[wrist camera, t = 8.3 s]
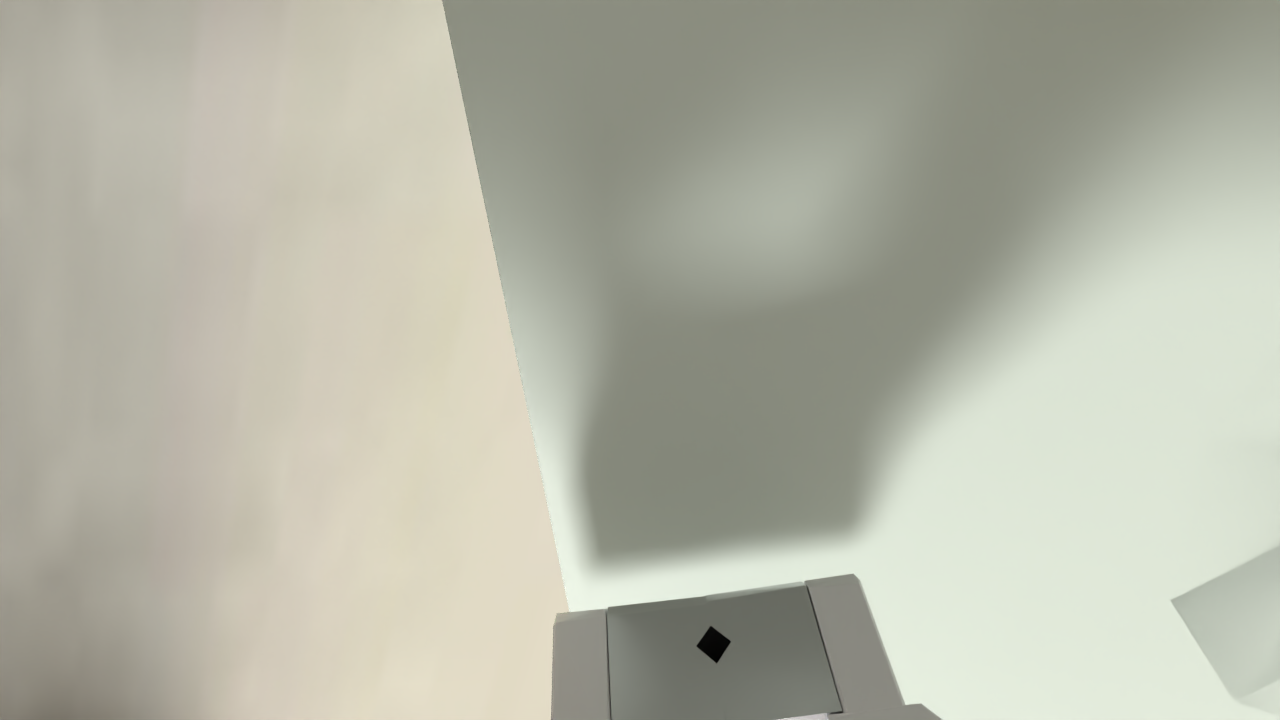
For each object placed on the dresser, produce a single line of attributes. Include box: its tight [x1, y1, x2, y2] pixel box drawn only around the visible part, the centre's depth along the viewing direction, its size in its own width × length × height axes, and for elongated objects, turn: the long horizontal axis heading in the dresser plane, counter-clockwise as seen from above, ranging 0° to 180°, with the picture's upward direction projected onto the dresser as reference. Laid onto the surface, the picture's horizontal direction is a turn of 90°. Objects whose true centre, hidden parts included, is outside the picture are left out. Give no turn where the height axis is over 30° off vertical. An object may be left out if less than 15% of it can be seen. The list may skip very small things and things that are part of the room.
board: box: [442, 0, 1280, 720], centre depth 11 cm, size 22×16×3 cm
